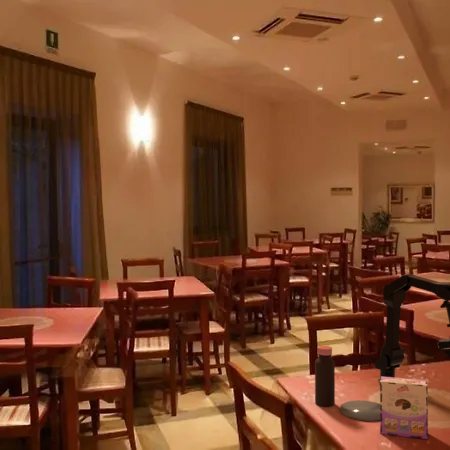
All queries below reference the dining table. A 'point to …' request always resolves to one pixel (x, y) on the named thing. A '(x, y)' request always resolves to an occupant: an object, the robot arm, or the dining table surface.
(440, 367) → the dining table surface
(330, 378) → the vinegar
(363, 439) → the dining table surface
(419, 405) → the candy box
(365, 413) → the plate
